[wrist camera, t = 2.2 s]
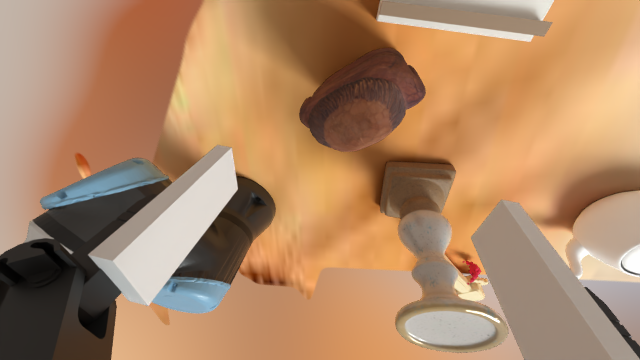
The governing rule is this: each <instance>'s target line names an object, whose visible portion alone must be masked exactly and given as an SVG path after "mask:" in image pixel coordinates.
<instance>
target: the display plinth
mask: <svg viewBox="0 0 640 360" xmlns="http://www.w3.org/2000/svg"><path fill="white" fill-rule="evenodd" d="M553 1H554V0H380V3H379V8H378V13H377V17H376V20H377V21H381V22H388V23H396V24H403V25H411V26H418V27H425V28H433V29H440V30H447V31H455V32H462V33H470V34H477V35H484V36H492V37H499V38H506V39H514V40H521V41H529V42H530V41H531V40H532V38H533V36H534V35H536V36H545V34H546V33H547V31H548V29H549V28H550V26H551V24H552V23H553V22H547V21H543V19H544V17H545V15H546V14H547V12H548V10H549V8H550V7H551V5H552V3H553Z"/></svg>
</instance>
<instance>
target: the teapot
mask: <svg viewBox="0 0 640 360" xmlns="http://www.w3.org/2000/svg"><path fill="white" fill-rule="evenodd" d="M573 237H574V238H573V239H571V240H570V241H569V242H568V244H567V245H566V250H565V251H566V256H567V259H568V261H569V265H570V270H571V271H572V272H573V274H574V275H575V276H576V278H577V279H579V278H580V277H581V276H582V274H583V269H582V265H581V260H582V258H583V257H584V256H586V255H588V254H589V255H591V256H592V257H594V258H596V259H598V260H600V261H601V262H603V263H605V264H607V265H609V266H611V267H613V268H615V269H617V270H619V271H621V272H623V273H625V274H628V275H632V276H636V277H640V190H639V191H629V192H622V193H618V194H614V195H611V196H607V197H605V198H602V199H600V200H598V201H596V202H594V203H592V204H591V205H589V206H588V207H586V208H585V209H584V210H583V211H582V212H581V214H580V215H579V216H578V218H577V219H576V221H575V223H574V225H573Z"/></svg>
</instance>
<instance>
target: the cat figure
mask: <svg viewBox="0 0 640 360" xmlns="http://www.w3.org/2000/svg"><path fill="white" fill-rule="evenodd" d="M444 258H445V259H446V260H447V261H448V262H449V263H450V264H452V265H453V263H452V262H451V261H450V260H449V259H448V258H447V256H446V255H444ZM463 263H464V261H463ZM466 264H467V265H470V266H469V268H470V270H469V272H470V274H471V275H472V276H471V275H469V276H463V274H462V273H461V272H460V271H459V270H458V269H457V268H456V267H455V266H454V265H453V266H454V267H455V268H456V269H457V271H458V278H457V280H456V282H455V286H454V287H455V291H456V293H457V294H458V296H459V297H460V298H462V299H465V300H471V301H478V300H483V299H484V297H485V294H484V292H483V289H482V286H481V285H486V284H489V282H488V280H487V279H486V278H485V279H484V278H479V277H478V274H480V272H481V270H480V269H479V268H478V266H477V264H476V265H475V264H473V262H469V261H466Z"/></svg>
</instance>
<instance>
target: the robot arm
mask: <svg viewBox="0 0 640 360" xmlns="http://www.w3.org/2000/svg"><path fill="white" fill-rule="evenodd" d="M40 203H41V205H42V208H43V209H45V210H46V209H49V210H48V211H47V212H46V213H43V214H42V215H40V216H39V217H37V218H35V219H33V220H32V221H30V222H29V227H28V233H27V238H26V240H25V242H24V243H23V244H20V245H18V246H16V247H14V248H12V249H10V250H8V251H6V252H4V253H3V254H2V255H1V256H0V360H111V354H112V345H113V335H114V326H115V317H116V308H117V306H116V301H115V299H116V298H117V297H118V296H119V295H120V294H121V293H122V294H123V295H124V296H125V297H126V298H127V300H128V301H131V302H135V303H139V304H143V305H147V306H149V304H150V303H151V302H153V303H155V304H158V305H160V306H163V307H166V308H170V309H173V310H177V311H182V312H188V313H206V312H209V311H212V310H214V309H215V308H216V307H217V306H218V305H219V304H220V302H221V300H222V299H223V297H224V295H225V294H226V292H227V291H228V290H229V289H230V286H231V283H232V281H233V279H234V277H235V275H236V273H237V271H238V269H239V267H240V265H241V263H242V261H243V259H244V257H245V256H246V254H247V252H248V250H249V248H250V246H251V244H252V242H253V241H254V240H255V239H256V238H257V237H258V236H259V235H260V234H261V233H262V232H263V231H264V230H265V229H266V228H268V227H269V225H270V224H271V222H272V220H273V218H274V216H275V212H276V208H275V204H274V201H273V199H272V197H271V196H270V195H269V193H268V192H267V191H266V190H265V189H264V188H263V187H261V186H260V185H258V184H257V183H255V182H253V181H251V180H249V179H246V178H243V177H237V176H236V173H235V166H234V160H233V153H232V148H231V147H226V146H221V145H217V146H216V147H214V148H213V149H212V150H211V151H210V152H209V153H207V154H206V155H205V156H204V157H203V158H201V159H200V160H199V161H198V162H197V163H196V164H194V165H193V166H192V167H191V168H190V169H188V170H187V171H186V172H185V173H184V174H183V175H181V176H180V177H179V178H178V179H177V180H176V181H174V182H173V183H172V182H171V181H170V179H169V176H167V175H164V174H163V173H162V172H161V171H160V170H159V169H158V168H157V167H156V166H155V165H153V164H152V163H151V162H150V161H148V160H146V159H143V158H133V159H129V160H127V161H124V162H122V163H119V164H117V165H114V166H112V167H110V168H107V169H105V170H103V171H101V172H98V173H96V174H94V175H91V176H89V177H87V178H85V179H82V180H80V181H78V182H76V183H74V184H71V185H69V186H67V187H65V188H63V189H61V190H59V191H56V192H54V193H52V194H49V195H47V196H45V197H43V198H42V199H41V200H40ZM471 239H472V242H473V244H474V246H475V249H476V251H477V253H478V255H479V258H480V260H481V262H482V264H483V267H484V269H485V271H486V274H487V276H488V278H489V280H490V283H491V285H492V287H493V289H494V292H495V294H496V296H497V298H498V301H499V303H500V305H501V307H502V310H503V312H504V314H505V317H506V319H507V321H508V324H509V326H510V328H511V330H512V332H513V335H514V337H515V339H516V342H517V344H518V346H519V349H520V351H521V353H522V355H523V358H524V360H640V346H639V345H638V344H637V343H636V341H634V340H632V339H631V335H630V334H629V333H628V331H627V330H626V329H625V328H624V326H623V325H620V324H619V320H618V319H617V318H616V316H615V315H614V314H613V313H612V312H611V310H610V309H609V308H608V306H607V305H606V304H605V303H604V302H603V301H602V300H601V299H599V298H598V297H597V296H596V295H595V294H594V293H593V292H591V291H590V290H589V289H588V288H587V287H583V285H582V284H581V283H580V282H579V280H578V279H577V278H576V276H575V275H574V274H573V272H572V271H571V270H570V268H569V267H568V266H567V265H566V263H565V262H564V261H563V259H562V258H561V257H560V256H559V254H558V253H557V252H556V250H555V249H554V248H553V247H552V245H551V244H550V243H549V241H548V240H547V239H546V237H545V236H544V235H543V234H542V232H541V231H540V230H539V228H538V227H537V226H536V225H535V223H534V222H533V221H532V219H531V218H530V217H529V216H528V214H527V213H526V212H525V210H524V209H523V208H522V206H521V205H520V204H519V203H516V202H511V201H506V200H501V201H500V202H499V203H498V204H497V206H496V207H495V208H494V209H493V211H492V212H491V213H490V214H489V216H488V217H487V218H486V219H485V221H484V222H483V223H482V224H481V226H480V227H479V228H478V229H477V231H476V232H475V233H474V234H473V235H472V237H471Z"/></svg>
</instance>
